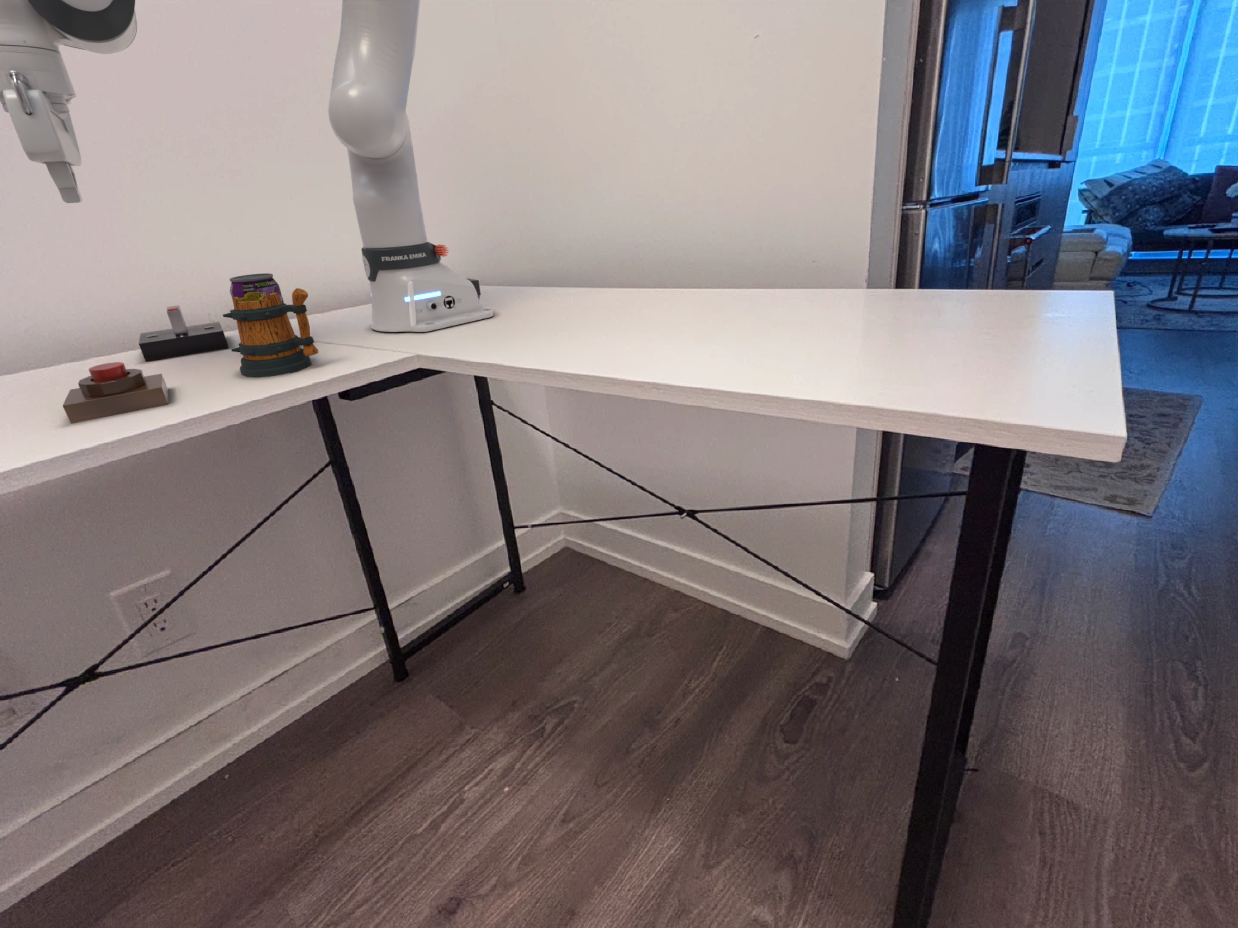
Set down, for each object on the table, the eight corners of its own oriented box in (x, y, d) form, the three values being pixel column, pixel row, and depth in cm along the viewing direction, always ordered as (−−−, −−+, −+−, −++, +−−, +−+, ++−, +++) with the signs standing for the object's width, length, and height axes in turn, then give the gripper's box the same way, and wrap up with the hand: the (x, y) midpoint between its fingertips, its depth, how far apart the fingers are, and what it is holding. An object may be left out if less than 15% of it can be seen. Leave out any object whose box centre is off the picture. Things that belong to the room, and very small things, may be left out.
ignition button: (129, 373, 81) (124, 360, 81) (128, 379, 79) (122, 366, 78) (95, 379, 80) (89, 365, 79) (93, 385, 77) (87, 372, 76)
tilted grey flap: (175, 329, 108) (166, 305, 107) (187, 328, 109) (178, 303, 107) (175, 335, 104) (166, 310, 102) (187, 333, 105) (178, 308, 103)
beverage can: (277, 356, 100) (254, 279, 95) (239, 356, 102) (215, 280, 96) (305, 344, 106) (285, 272, 101) (269, 344, 108) (248, 273, 103)
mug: (223, 378, 90) (195, 297, 85) (267, 358, 99) (245, 284, 94) (306, 377, 88) (283, 294, 83) (343, 357, 97) (325, 281, 92)
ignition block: (168, 390, 86) (157, 362, 84) (168, 404, 80) (156, 374, 78) (77, 406, 81) (64, 377, 79) (70, 424, 75) (56, 392, 73)
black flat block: (224, 337, 115) (218, 320, 113) (228, 348, 107) (222, 329, 106) (146, 350, 109) (139, 332, 108) (145, 361, 101) (138, 342, 100)
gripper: (46, 68, 70) (97, 201, 75) (67, 91, 85) (108, 200, 91) (-29, 66, 66) (30, 205, 72) (7, 90, 82) (53, 203, 88)
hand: (74, 202), depth 82 cm, fingers closed
